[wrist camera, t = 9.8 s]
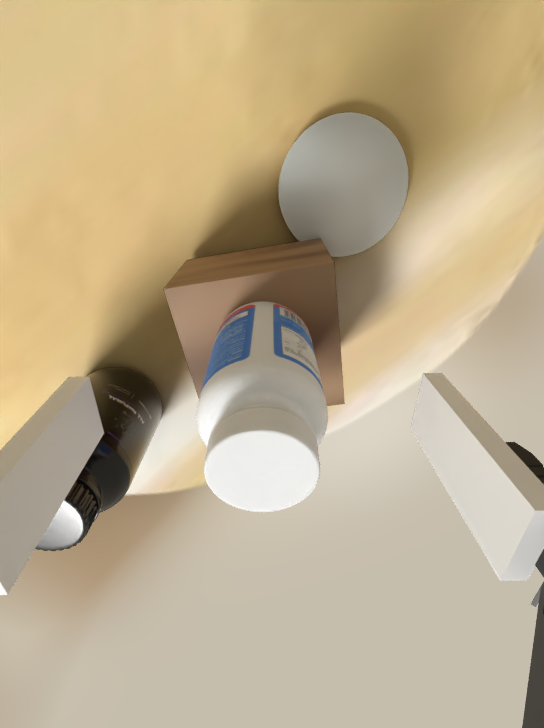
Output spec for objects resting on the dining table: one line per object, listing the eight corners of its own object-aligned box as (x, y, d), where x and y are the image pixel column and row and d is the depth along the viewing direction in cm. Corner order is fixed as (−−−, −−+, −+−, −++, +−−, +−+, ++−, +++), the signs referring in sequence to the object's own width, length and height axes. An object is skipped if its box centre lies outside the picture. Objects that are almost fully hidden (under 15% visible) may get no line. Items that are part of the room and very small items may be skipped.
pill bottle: (221, 383, 22) (188, 526, 14) (212, 299, 19) (164, 412, 11) (310, 382, 22) (333, 525, 14) (314, 297, 19) (346, 411, 11)
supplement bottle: (168, 372, 29) (111, 485, 18) (160, 439, 32) (108, 571, 21) (78, 355, 28) (-38, 464, 17) (79, 426, 31) (-20, 557, 20)
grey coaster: (279, 113, 21) (279, 111, 20) (414, 115, 21) (420, 113, 21) (277, 254, 25) (277, 256, 24) (393, 254, 25) (396, 257, 24)
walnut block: (187, 260, 24) (163, 289, 19) (321, 238, 23) (334, 262, 18) (218, 372, 29) (205, 421, 24) (331, 357, 28) (344, 403, 23)
